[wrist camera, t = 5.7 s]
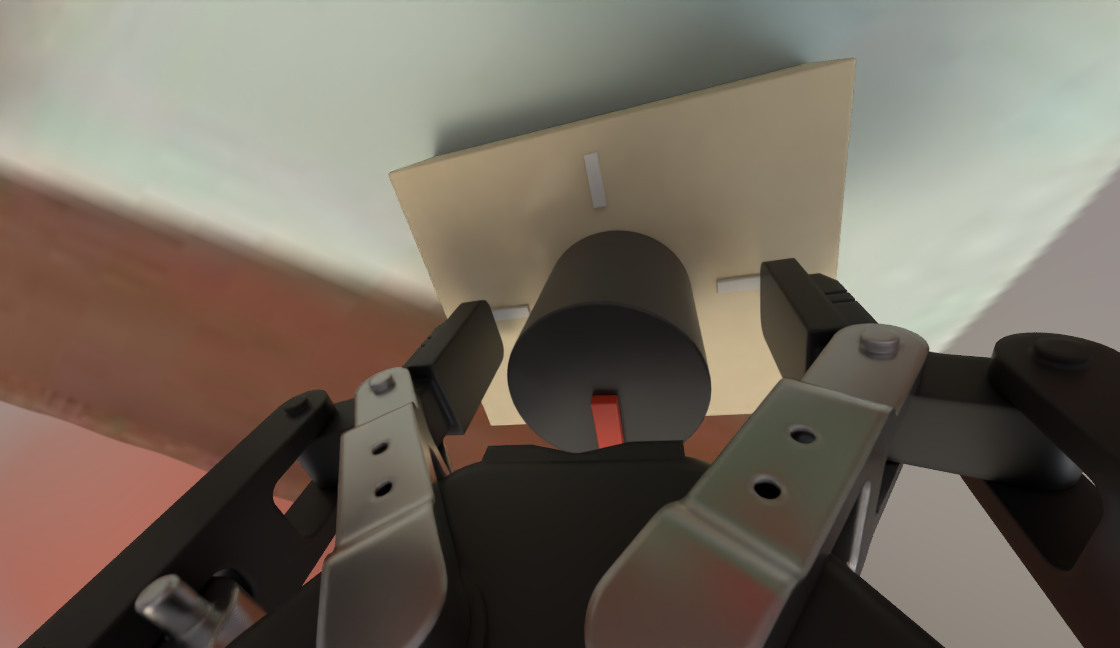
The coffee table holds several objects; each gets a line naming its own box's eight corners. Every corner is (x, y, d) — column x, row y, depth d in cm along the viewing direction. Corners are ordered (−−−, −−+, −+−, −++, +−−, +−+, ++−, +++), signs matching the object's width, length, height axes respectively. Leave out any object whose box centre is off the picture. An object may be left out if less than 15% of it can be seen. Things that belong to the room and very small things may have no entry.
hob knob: (534, 239, 12) (478, 318, 8) (689, 220, 11) (714, 301, 7) (561, 360, 14) (526, 471, 10) (693, 354, 13) (713, 477, 9)
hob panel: (511, 380, 19) (489, 429, 16) (432, 157, 15) (383, 174, 12) (796, 358, 16) (826, 414, 13) (810, 62, 11) (860, 56, 9)
